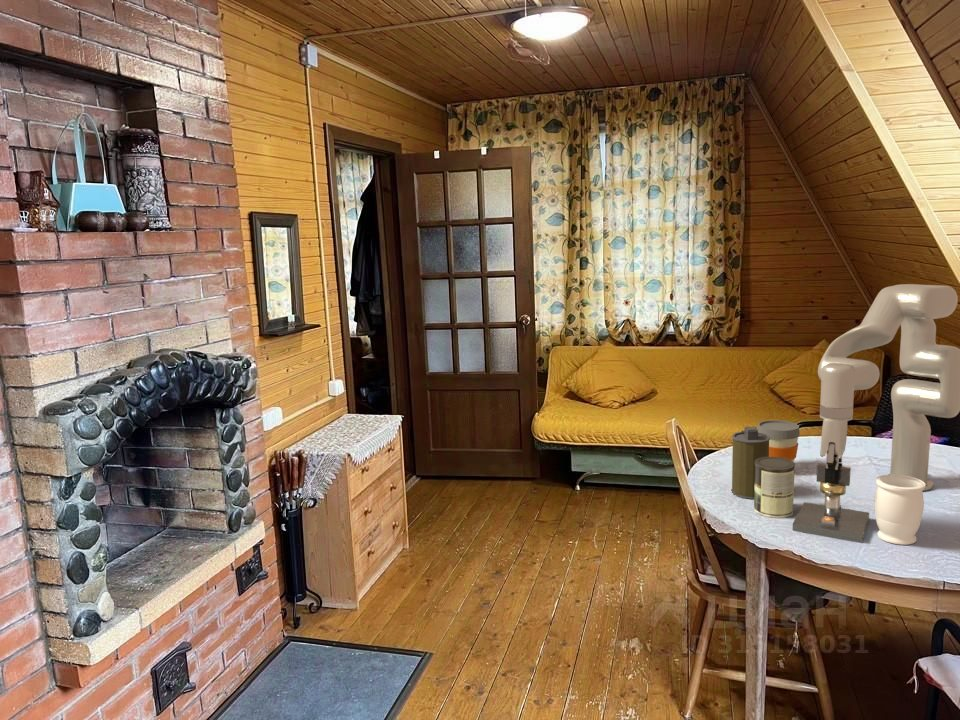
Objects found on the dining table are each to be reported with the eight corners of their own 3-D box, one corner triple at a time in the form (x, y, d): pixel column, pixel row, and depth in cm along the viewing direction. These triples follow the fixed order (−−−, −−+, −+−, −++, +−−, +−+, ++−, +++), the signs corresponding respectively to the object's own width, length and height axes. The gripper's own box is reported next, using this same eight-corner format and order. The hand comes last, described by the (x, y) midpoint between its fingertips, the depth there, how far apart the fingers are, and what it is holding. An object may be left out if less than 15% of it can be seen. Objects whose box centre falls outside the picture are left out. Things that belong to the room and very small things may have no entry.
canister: (773, 499, 208) (775, 432, 204) (737, 499, 209) (738, 433, 205) (761, 485, 219) (762, 421, 215) (726, 486, 219) (727, 423, 216)
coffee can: (745, 509, 202) (746, 460, 200) (771, 501, 207) (772, 454, 204) (775, 521, 193) (776, 471, 191) (801, 513, 198) (803, 463, 195)
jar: (904, 528, 185) (908, 472, 182) (930, 546, 175) (935, 487, 172) (864, 530, 185) (867, 475, 182) (887, 548, 175) (891, 489, 172)
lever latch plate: (803, 509, 200) (805, 478, 198) (869, 519, 191) (870, 487, 190) (792, 530, 187) (793, 497, 185) (861, 542, 178) (863, 508, 177)
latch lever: (819, 483, 193) (820, 458, 192) (851, 488, 189) (852, 462, 188) (813, 494, 186) (814, 468, 185) (846, 499, 182) (847, 473, 181)
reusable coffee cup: (760, 477, 226) (761, 431, 223) (752, 463, 238) (753, 420, 235) (803, 477, 224) (804, 430, 221) (792, 464, 236) (793, 419, 233)
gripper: (825, 403, 193) (822, 468, 196) (814, 418, 179) (811, 488, 182) (856, 405, 188) (853, 472, 192) (848, 421, 175) (844, 493, 178)
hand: (833, 479), depth 187 cm, fingers open, 4 cm apart
